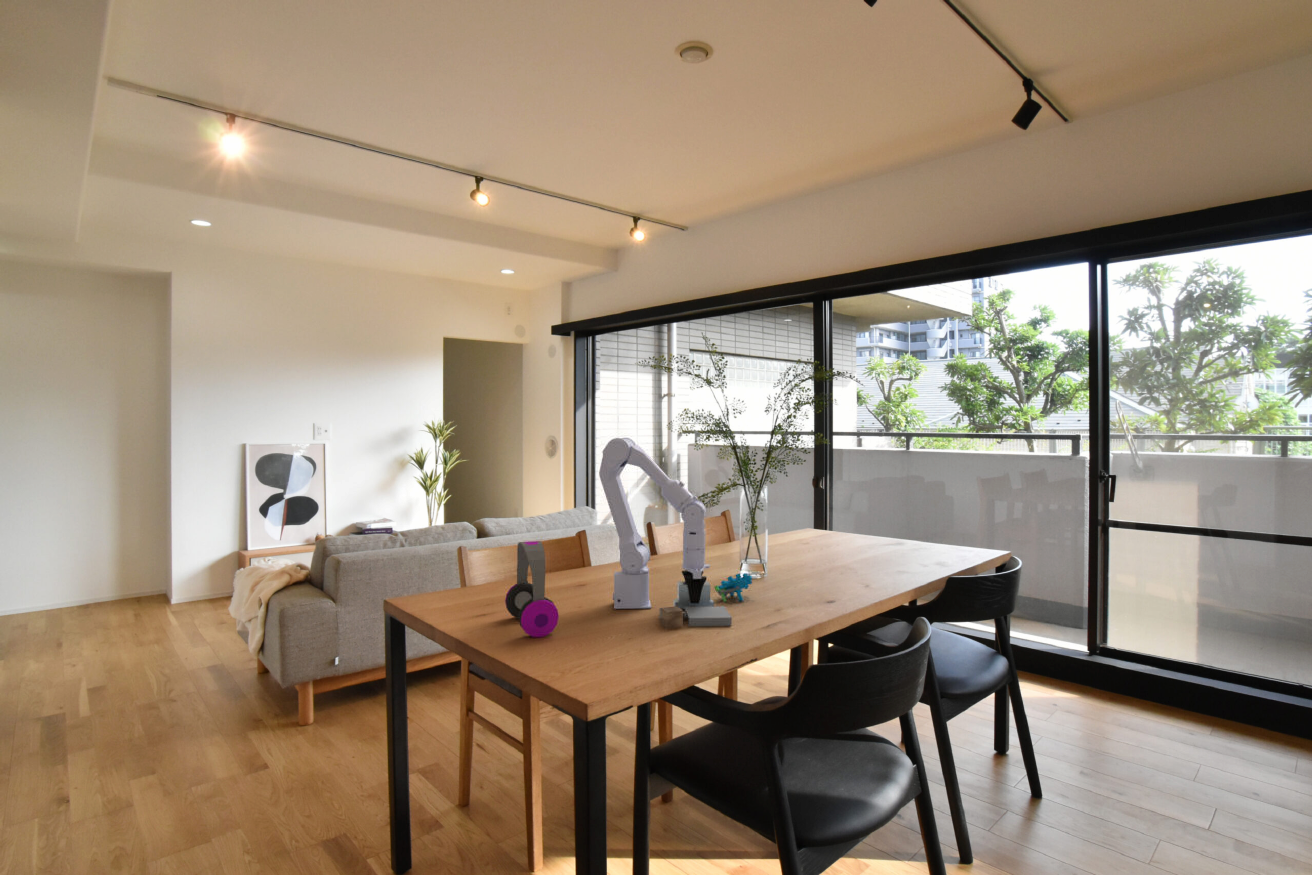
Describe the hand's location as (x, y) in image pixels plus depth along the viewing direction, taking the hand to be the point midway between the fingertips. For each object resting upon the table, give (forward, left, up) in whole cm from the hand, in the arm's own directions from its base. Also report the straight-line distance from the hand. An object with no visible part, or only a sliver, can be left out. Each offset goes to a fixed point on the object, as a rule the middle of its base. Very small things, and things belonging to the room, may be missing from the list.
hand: (693, 600), depth 175 cm
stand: (+2, -11, -2) cm, 11 cm away
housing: (0, 0, -1) cm, 1 cm away
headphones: (-40, -14, -2) cm, 42 cm away
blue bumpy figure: (+12, +10, -2) cm, 16 cm away
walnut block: (-7, -15, -2) cm, 17 cm away
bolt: (-6, -10, -2) cm, 12 cm away
